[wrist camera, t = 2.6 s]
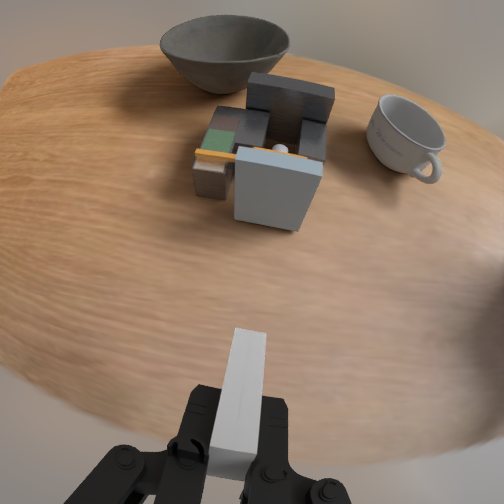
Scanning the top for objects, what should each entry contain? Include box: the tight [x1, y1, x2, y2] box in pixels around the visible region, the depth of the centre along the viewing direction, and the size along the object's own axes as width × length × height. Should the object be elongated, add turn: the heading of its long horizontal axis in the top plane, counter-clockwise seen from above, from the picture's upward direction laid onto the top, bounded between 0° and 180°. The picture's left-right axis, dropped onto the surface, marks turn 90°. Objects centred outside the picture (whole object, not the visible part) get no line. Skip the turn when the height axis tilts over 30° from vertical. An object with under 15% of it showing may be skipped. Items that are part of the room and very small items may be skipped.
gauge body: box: [192, 72, 335, 200], centre depth 31 cm, size 14×13×9 cm
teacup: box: [367, 94, 446, 184], centre depth 34 cm, size 14×11×8 cm
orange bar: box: [195, 147, 307, 162], centre depth 28 cm, size 11×1×2 cm, turn 80°
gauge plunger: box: [234, 144, 323, 232], centre depth 28 cm, size 7×8×10 cm
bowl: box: [160, 15, 290, 94], centre depth 37 cm, size 19×19×10 cm
